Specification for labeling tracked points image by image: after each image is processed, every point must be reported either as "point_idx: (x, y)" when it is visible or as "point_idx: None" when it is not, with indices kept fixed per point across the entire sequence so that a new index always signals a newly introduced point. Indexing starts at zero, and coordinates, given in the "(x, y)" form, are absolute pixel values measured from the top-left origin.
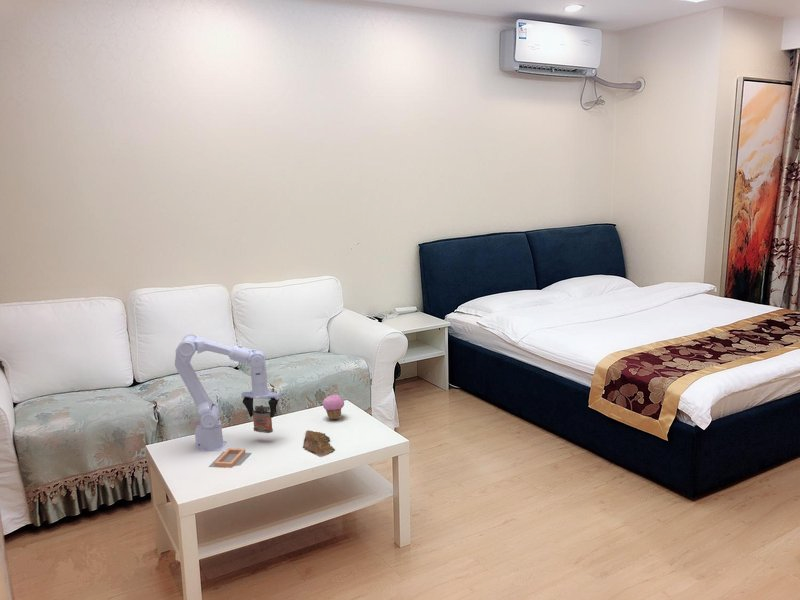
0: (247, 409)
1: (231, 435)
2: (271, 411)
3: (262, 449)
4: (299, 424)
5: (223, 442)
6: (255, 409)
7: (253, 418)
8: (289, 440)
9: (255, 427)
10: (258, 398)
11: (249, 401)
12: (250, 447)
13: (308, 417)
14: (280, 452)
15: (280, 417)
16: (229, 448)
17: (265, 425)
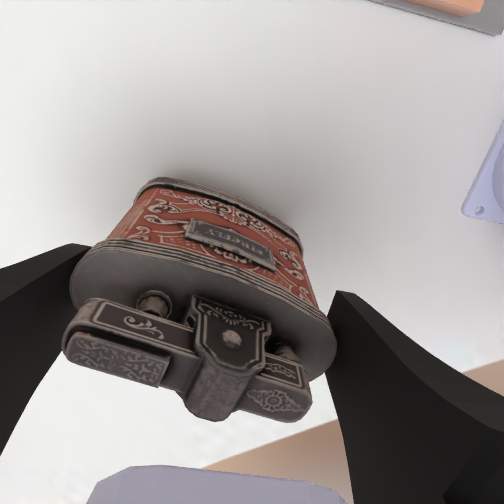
0: (415, 344)
1: (436, 298)
2: (21, 269)
3: (210, 64)
4: (72, 392)
5: (489, 202)
6: (298, 364)
7: (312, 291)
8: (54, 197)
9: (285, 238)
10: (112, 482)
11: (434, 471)
12: (304, 112)
13: (53, 455)
14: None
15: (198, 462)
16: (472, 6)
17: (179, 206)
